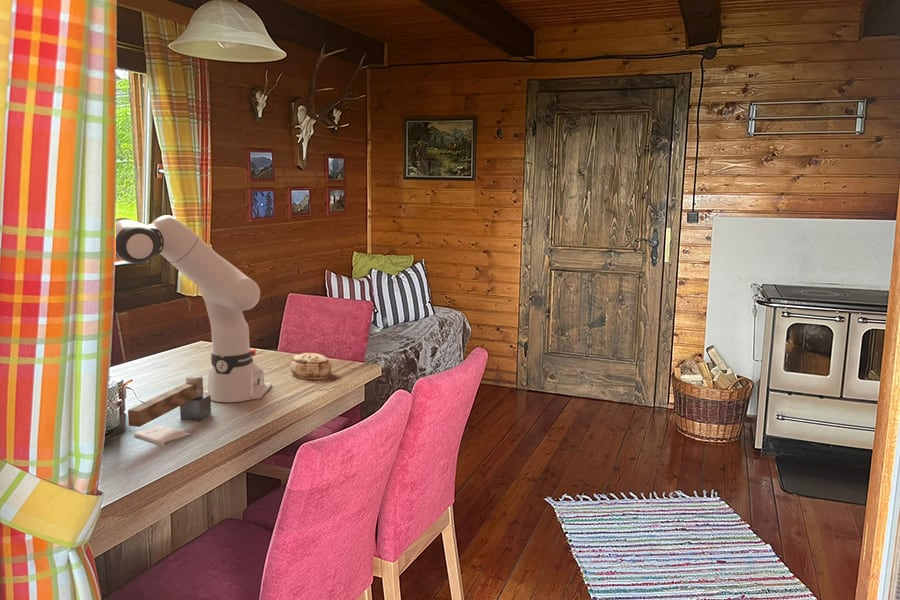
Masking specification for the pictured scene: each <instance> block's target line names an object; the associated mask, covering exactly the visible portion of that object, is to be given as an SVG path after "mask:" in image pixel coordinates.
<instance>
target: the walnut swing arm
mask: <svg viewBox="0 0 900 600" xmlns="http://www.w3.org/2000/svg"><path fill="white" fill-rule="evenodd" d="M203 394H204V377H203V376H200V375H191V376H188V377H187V376H186V378H185V383H182V384H181V385H179V386H177V387H174V388H172V389H170V390H168V391H166V392H163V393H162V394H159V395H157V396H155V397H153V398H151V399H149V400H147V401H144V402H143V403H139V405H136V406H134V407H132V408H129V409H128V410H127V417H128V427H134V428H135V427H139V428H141V427H143V426H144V425H146V424H148V423H150V422H153V421H154V420H156V419H158V418H160V417H161V416H163V415H165V414H168V413H169V412H171V411H173V410H175V409H177V408H178V407H179V408H180V406H181V405H183V404H185V403H187V402H189V401H190V400H192V399H194V398H196V397H200V396H203Z"/></svg>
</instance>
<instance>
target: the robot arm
mask: <svg viewBox="0 0 900 600" xmlns="http://www.w3.org/2000/svg"><path fill="white" fill-rule="evenodd" d="M115 219H116V261H115V262H117V261H119V260H123V261H125V262H127V263H130V264H134V265H135V264H143V263H146V262H148V261H150V260H152V259H153V258H154V257H155V256H157V255H161V256H162V257H164V259H165V260H166V261H167V262H169V264H170V265H172V266H173V267H174V268H176V270H178V271H179V272H180V273H181V274H182V275H183V276H185V277H186V279H187V280H189V281H190V282H192V283H194V284H195V285H197V286H198V289H199V293H200V295H201V297H202V299H203V300H204V304H205V308H206V312H207V315H208V319H209V324H210V330H211V347H212V352H211V353H210V360H211V361H210V362H211V363H210V364H211V367H210V368H209V369H208V377H207V390H204V394H208V395H211V402H212V401H213V402H219V403H237V402H245V401H249V400H259V399H261V398H263V397H264V395H265V394H266V393H267V392H268V391H269V390H270V389H271V387H272V386H273V385H272V384H273V383H271V382H268V381H265V374H264V370H263V368H262V367H260V366H259V365H258V364H256V363H255V362H254V357H253V356H256V355H257V350H256V349H251V347H250V328H249V324H248V322H247V321H246V319H245V316H244V314H243V311H249V310H252V309H253V308H254V307H255V306H256V305H257V304H258V303H259V301H260V299H261V289H260V287H259V284H257V282H256V281H255V280H253V279H252V278H250V277H249V276H247V275H246V274H245V273H244V272H242V271H241V270H240V269H239V268H237V267H236V266H234V265H233V264H232V263H231V262H229V261H228V260H227V259H225V258H224V257H223V256H221V255H220V254H218V252H216V251H215V250H214V249H212V248H211V246H210V245H208V243H206V242H205V241H204V239H202V238H201V237H200V236H199V235H198V234H196V233H195V231H193V230H192V229H191V228H190V227H189V226H187V225H186V224H184V223H183V222H182V221H180V220H179V219H177V218H176V217H174V216H172V215H161V216H159V217H157V218H155V219H154V220H153V221H152V222H151V223H149V224H143V223H140V222H139V221H136V220H133V219H130V218H125V217H121V218H115ZM123 393H124V400H126V399H127V387H126V386H124V391H123ZM124 400H122V399H116V400H115V401H113V402H112V404H113V406H114V409H113V410H115V409H117V408H120V407H121V406H123V405H124ZM108 405H109V402H108Z"/></svg>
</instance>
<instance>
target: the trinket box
mask: <svg viewBox="0 0 900 600" xmlns="http://www.w3.org/2000/svg"><path fill="white" fill-rule="evenodd" d="M289 369H290V371H291V373H292V376H294V377H297V378H299V379H305V380H324V379H327V378H329V377H330V374H331V372H332V362H331V360H329V358H328V357H327V356H326V355H324V354H321V353H319V352H302V353H299V354H296V355H294V356H292V358H291V361H290V363H289Z"/></svg>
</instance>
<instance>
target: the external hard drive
mask: <svg viewBox="0 0 900 600" xmlns="http://www.w3.org/2000/svg"><path fill="white" fill-rule="evenodd" d="M134 437H135V438H139V439H141V440H144V441H147V442H150V443H153V442H154V443H153V444H156V443H157V444H156V445H159V444H160V445H159V446H162V447H165V445H166V446H169V445H172V444H175V443H178V442H180V440H181V441H183V439H184V440H186V438H187V439H189V438H188V437H190V438H191V437H192V435H191V433H189V432H186V431H182V430H178V429H175V428H172V427H169V426H165V425H162V424H159V425H155V426H152V427H149V428H145V429H142V430H139V431H136V432H134ZM177 441H178V442H177ZM174 442H175V443H174ZM171 443H172V444H171ZM168 444H169V445H168Z"/></svg>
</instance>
